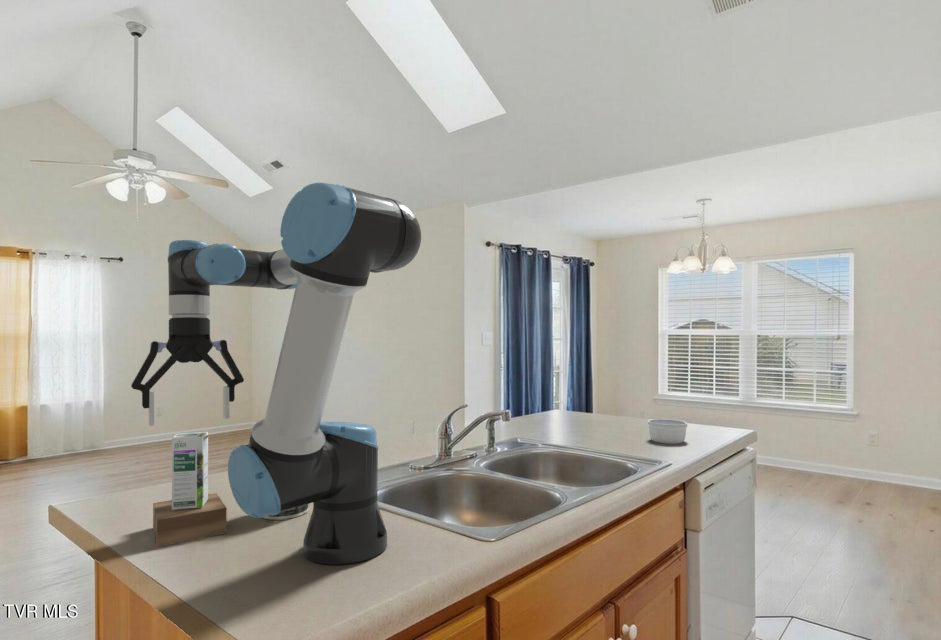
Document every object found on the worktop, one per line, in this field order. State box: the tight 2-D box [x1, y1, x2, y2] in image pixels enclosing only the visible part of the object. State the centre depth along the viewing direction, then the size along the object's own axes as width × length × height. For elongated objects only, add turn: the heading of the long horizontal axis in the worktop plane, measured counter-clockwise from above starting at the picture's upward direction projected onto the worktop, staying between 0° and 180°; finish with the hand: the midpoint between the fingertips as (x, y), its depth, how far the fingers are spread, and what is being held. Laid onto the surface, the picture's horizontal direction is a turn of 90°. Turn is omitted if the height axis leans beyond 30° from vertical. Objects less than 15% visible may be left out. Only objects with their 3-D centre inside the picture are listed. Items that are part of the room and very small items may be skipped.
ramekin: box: [647, 418, 688, 445], centre depth 194 cm, size 13×13×7 cm
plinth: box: [152, 492, 227, 547], centre depth 110 cm, size 12×12×5 cm
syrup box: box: [171, 431, 209, 510], centre depth 111 cm, size 6×6×14 cm
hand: (190, 421), depth 110 cm, fingers open, 13 cm apart
